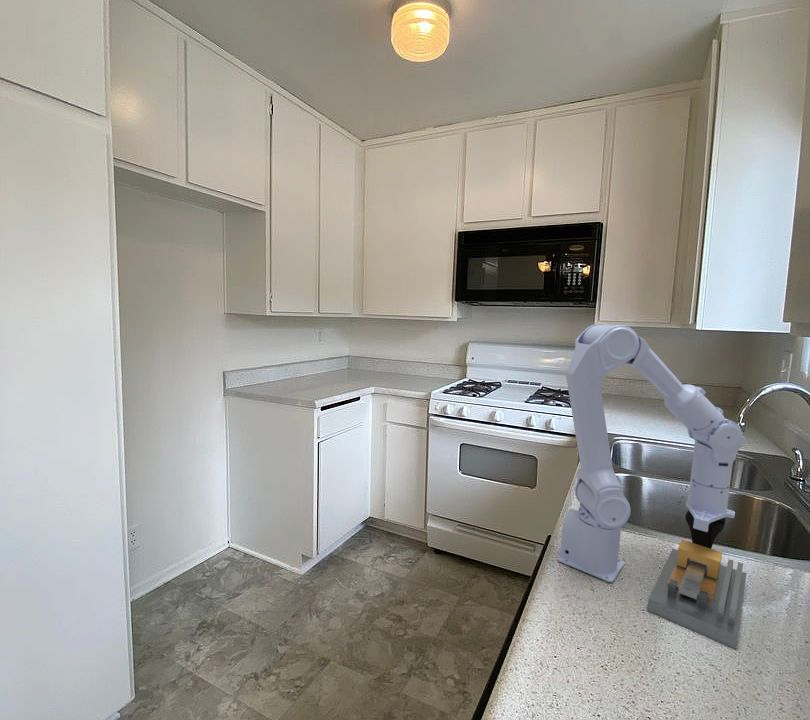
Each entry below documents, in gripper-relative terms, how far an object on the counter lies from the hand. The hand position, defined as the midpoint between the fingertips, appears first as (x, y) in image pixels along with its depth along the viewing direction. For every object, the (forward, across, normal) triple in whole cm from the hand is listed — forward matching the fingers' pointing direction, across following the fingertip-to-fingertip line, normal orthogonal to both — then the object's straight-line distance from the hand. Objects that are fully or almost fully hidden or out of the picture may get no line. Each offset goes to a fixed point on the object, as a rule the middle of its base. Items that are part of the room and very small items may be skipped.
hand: (701, 553), depth 77 cm
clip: (+1, -3, 0) cm, 3 cm away
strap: (+1, -10, 0) cm, 10 cm away
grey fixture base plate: (+3, -9, -1) cm, 10 cm away
